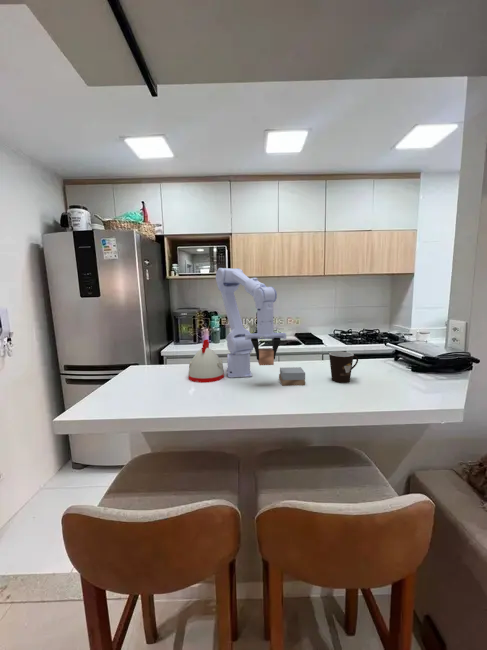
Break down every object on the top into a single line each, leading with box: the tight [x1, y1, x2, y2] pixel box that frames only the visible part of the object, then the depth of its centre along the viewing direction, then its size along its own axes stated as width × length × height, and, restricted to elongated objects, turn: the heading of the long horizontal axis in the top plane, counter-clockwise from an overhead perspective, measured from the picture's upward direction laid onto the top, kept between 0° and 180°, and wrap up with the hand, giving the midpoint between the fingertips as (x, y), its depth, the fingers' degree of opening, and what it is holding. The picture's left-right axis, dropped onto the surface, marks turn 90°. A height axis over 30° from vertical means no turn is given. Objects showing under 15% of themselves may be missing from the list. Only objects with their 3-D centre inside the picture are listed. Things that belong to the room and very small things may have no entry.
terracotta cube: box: [257, 347, 275, 366], centre depth 109 cm, size 5×5×5 cm
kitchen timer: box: [187, 339, 225, 383], centre depth 120 cm, size 14×14×15 cm
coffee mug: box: [328, 351, 359, 384], centre depth 113 cm, size 12×9×10 cm
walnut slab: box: [278, 373, 306, 387], centre depth 113 cm, size 8×8×2 cm
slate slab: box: [279, 366, 306, 381], centre depth 113 cm, size 8×8×2 cm
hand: (265, 359), depth 109 cm, fingers closed on terracotta cube, 5 cm apart
